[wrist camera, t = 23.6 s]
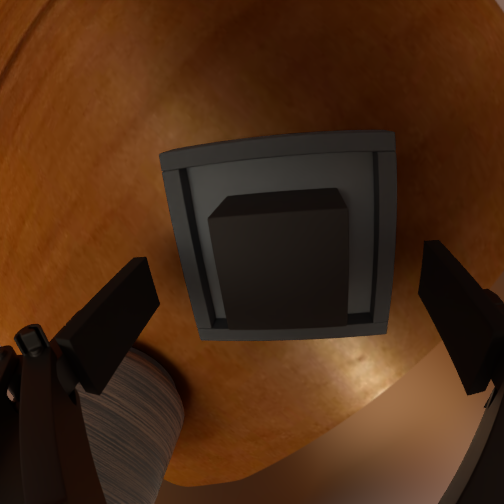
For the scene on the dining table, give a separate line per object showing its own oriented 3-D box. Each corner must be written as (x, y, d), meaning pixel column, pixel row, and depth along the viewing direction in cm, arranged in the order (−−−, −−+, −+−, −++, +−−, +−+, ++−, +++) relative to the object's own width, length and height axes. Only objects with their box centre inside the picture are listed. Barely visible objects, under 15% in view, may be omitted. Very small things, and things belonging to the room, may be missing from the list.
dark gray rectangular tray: (383, 129, 15) (395, 131, 13) (380, 314, 20) (386, 334, 18) (173, 149, 17) (157, 153, 15) (208, 321, 22) (200, 340, 20)
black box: (337, 187, 16) (348, 207, 12) (339, 286, 18) (347, 326, 15) (226, 195, 17) (206, 218, 13) (241, 290, 19) (228, 330, 16)
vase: (83, 308, 24) (-74, 513, 3) (206, 366, 24) (110, 635, 3) (84, 383, 29) (-11, 540, 8) (179, 428, 29) (113, 610, 8)
